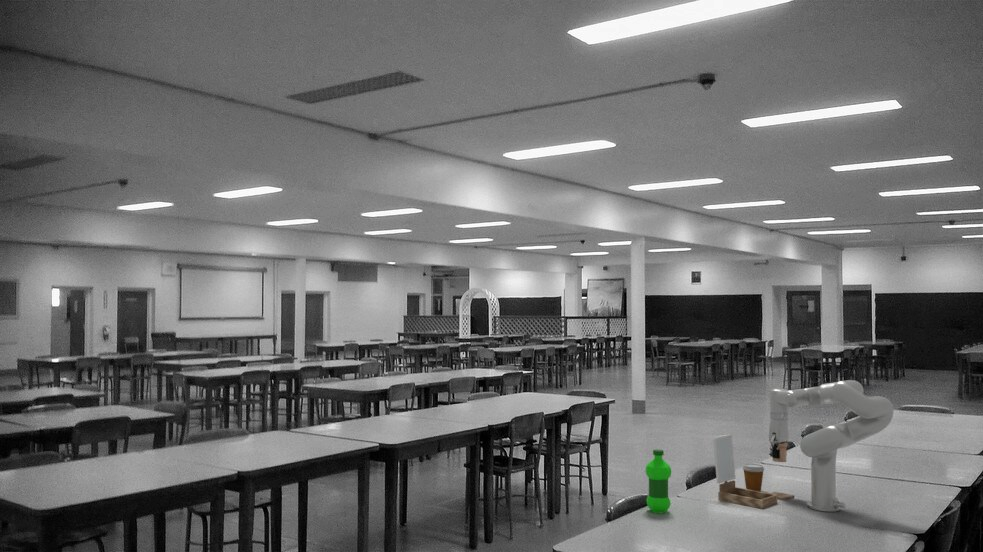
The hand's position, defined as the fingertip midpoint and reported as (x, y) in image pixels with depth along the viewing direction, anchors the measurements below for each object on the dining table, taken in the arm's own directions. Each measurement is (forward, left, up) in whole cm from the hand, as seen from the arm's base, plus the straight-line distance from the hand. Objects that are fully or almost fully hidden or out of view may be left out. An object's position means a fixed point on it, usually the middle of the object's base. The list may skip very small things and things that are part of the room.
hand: (779, 456), depth 331 cm
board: (0, 0, -18) cm, 18 cm away
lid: (+16, +18, -1) cm, 24 cm away
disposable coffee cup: (+14, -3, -19) cm, 23 cm away
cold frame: (+7, +18, -18) cm, 27 cm away
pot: (0, 0, -2) cm, 2 cm away
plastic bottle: (+24, +59, -19) cm, 66 cm away
